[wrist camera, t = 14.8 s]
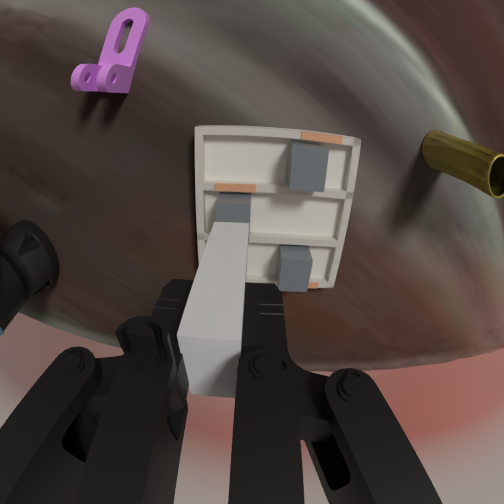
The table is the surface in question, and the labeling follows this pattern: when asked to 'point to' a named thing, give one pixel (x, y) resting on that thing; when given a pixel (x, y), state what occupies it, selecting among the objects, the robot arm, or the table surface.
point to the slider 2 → (307, 166)
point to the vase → (465, 162)
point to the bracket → (114, 57)
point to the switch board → (276, 195)
